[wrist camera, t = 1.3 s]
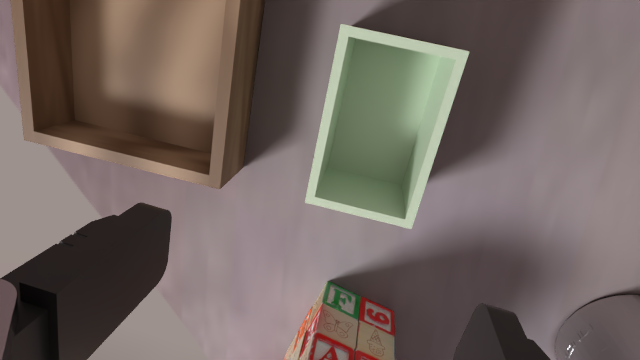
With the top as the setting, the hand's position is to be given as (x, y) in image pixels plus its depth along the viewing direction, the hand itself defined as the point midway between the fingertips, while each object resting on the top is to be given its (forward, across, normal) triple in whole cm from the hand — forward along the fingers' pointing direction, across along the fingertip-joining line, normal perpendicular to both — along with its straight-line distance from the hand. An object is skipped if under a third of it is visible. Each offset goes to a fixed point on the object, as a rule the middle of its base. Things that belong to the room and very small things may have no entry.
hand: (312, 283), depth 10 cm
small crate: (+18, -1, -1) cm, 19 cm away
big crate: (+18, +15, -2) cm, 24 cm away
